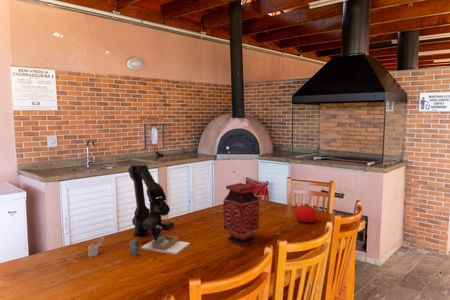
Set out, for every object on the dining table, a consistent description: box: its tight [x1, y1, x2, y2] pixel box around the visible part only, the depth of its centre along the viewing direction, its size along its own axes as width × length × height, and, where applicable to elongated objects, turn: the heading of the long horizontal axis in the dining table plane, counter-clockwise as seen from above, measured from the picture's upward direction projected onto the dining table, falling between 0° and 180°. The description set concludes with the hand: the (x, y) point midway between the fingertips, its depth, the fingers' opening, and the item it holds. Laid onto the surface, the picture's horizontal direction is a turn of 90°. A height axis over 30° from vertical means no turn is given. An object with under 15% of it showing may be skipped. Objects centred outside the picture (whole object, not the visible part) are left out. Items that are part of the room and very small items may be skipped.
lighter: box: [87, 236, 105, 258], centre depth 163 cm, size 7×2×8 cm, turn 125°
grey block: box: [129, 238, 140, 257], centre depth 164 cm, size 3×3×7 cm
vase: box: [222, 182, 260, 247], centre depth 180 cm, size 14×14×30 cm
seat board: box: [141, 235, 191, 256], centre depth 173 cm, size 20×14×3 cm
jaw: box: [152, 235, 166, 246], centre depth 175 cm, size 2×10×2 cm, turn 159°
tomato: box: [293, 204, 317, 223], centre depth 214 cm, size 13×12×11 cm
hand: (156, 240), depth 175 cm, fingers closed
